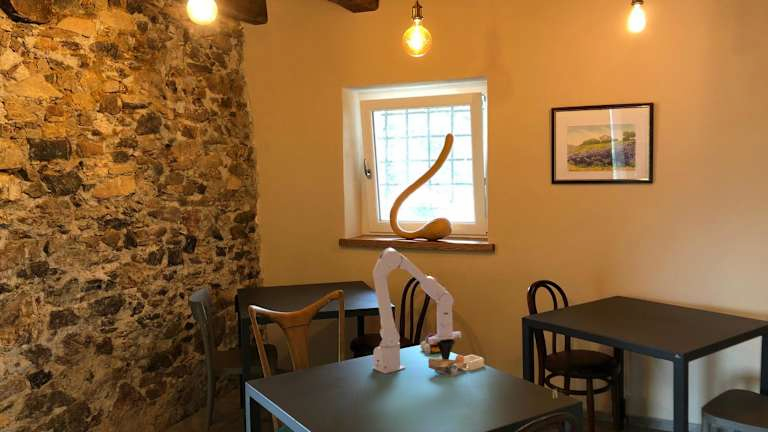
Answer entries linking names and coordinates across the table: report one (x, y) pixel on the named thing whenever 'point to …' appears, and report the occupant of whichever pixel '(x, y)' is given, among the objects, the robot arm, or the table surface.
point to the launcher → (444, 364)
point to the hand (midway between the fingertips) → (445, 359)
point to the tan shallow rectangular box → (472, 362)
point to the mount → (450, 371)
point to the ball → (459, 358)
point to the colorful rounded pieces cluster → (429, 345)
